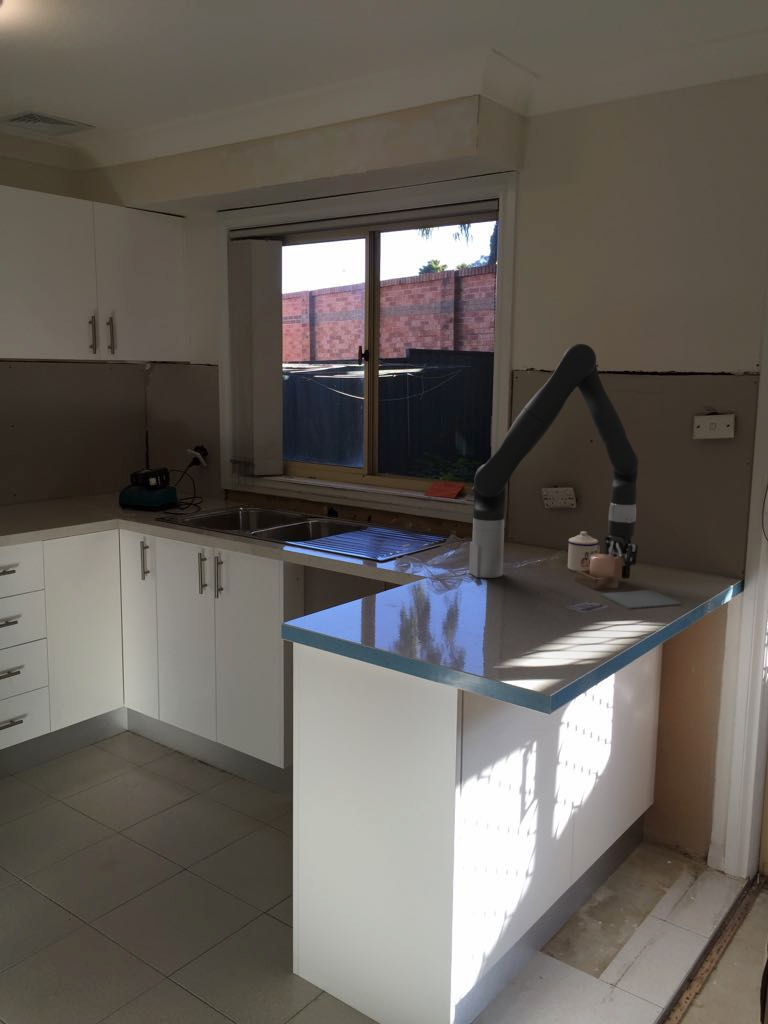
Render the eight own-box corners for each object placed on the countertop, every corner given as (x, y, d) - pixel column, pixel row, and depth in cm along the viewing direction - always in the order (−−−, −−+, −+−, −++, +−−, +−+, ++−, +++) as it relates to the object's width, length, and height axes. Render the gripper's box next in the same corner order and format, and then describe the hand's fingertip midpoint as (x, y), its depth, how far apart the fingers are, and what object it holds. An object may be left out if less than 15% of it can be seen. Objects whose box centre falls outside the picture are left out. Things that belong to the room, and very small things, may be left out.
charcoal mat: (628, 609, 223) (628, 607, 223) (599, 595, 236) (600, 593, 236) (681, 604, 227) (681, 603, 227) (650, 591, 241) (650, 589, 241)
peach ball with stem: (596, 587, 244) (598, 560, 243) (584, 581, 251) (585, 554, 249) (629, 585, 247) (631, 558, 246) (616, 579, 254) (617, 552, 252)
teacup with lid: (583, 573, 260) (585, 536, 258) (560, 567, 267) (562, 531, 265) (609, 568, 267) (611, 531, 265) (586, 563, 274) (588, 527, 272)
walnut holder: (594, 589, 242) (594, 579, 241) (574, 580, 252) (575, 570, 252) (617, 587, 244) (618, 577, 243) (597, 578, 254) (598, 568, 254)
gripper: (597, 515, 252) (594, 570, 255) (624, 523, 239) (621, 582, 242) (619, 513, 255) (616, 568, 258) (648, 522, 241) (644, 580, 244)
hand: (618, 575), depth 250 cm, fingers open, 6 cm apart
